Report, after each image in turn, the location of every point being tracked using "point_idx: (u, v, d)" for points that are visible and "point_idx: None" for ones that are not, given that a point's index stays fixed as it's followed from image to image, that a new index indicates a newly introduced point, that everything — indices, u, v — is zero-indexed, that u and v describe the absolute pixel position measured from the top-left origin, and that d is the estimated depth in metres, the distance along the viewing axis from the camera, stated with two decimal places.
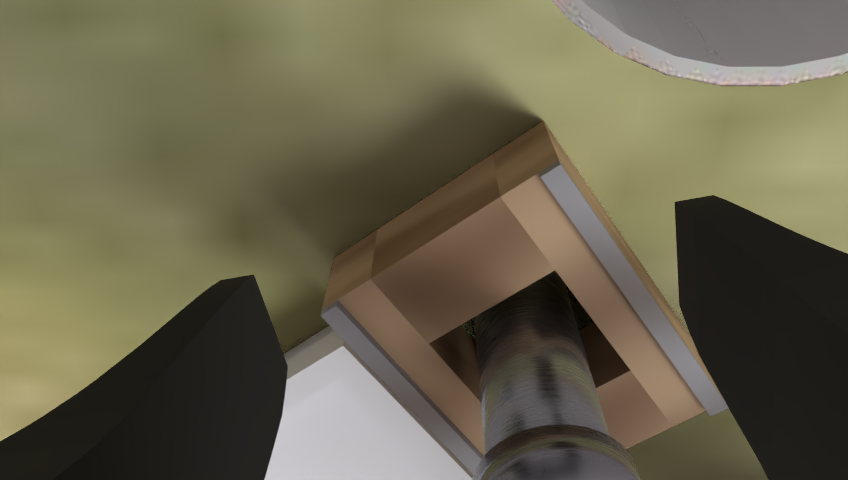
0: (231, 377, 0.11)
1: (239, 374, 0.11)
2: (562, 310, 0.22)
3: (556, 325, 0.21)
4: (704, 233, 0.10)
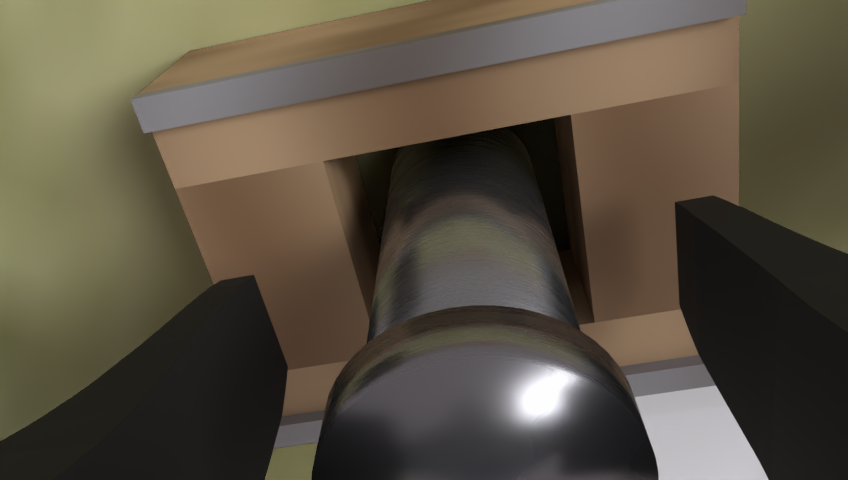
0: (231, 377, 0.11)
1: (239, 374, 0.11)
2: (424, 166, 0.14)
3: (406, 200, 0.13)
4: (704, 233, 0.10)
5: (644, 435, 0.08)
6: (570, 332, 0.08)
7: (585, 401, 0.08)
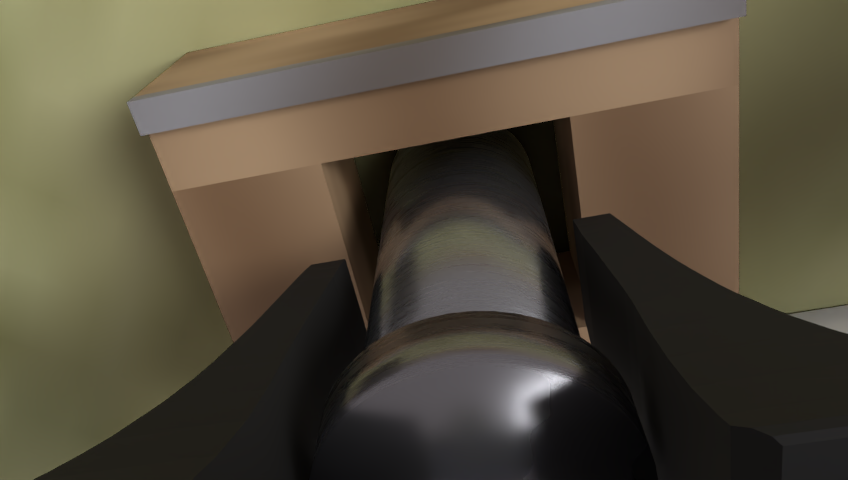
0: (334, 360, 0.11)
1: (340, 358, 0.11)
2: (422, 168, 0.13)
3: (405, 203, 0.13)
4: (589, 252, 0.10)
5: (644, 442, 0.08)
6: (569, 338, 0.08)
7: (585, 409, 0.08)
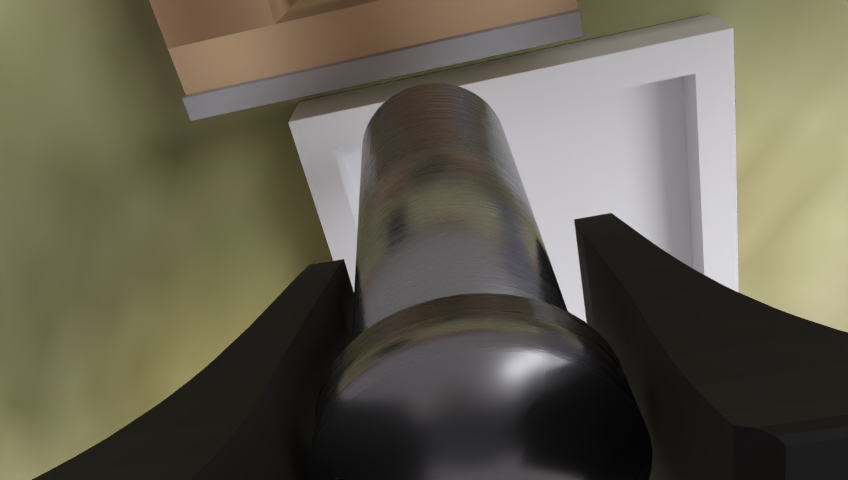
0: (332, 361, 0.11)
1: None
2: (397, 142, 0.13)
3: (381, 179, 0.12)
4: (590, 252, 0.10)
5: (637, 413, 0.08)
6: (560, 315, 0.08)
7: (579, 386, 0.08)
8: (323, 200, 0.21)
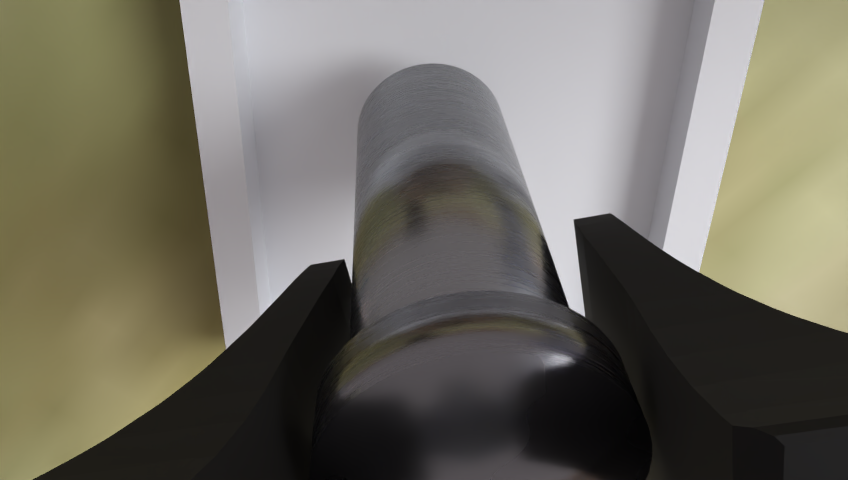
0: None
1: None
2: (393, 127, 0.13)
3: (378, 166, 0.12)
4: (590, 252, 0.10)
5: (638, 410, 0.08)
6: (560, 311, 0.08)
7: (580, 384, 0.08)
8: (194, 10, 0.15)
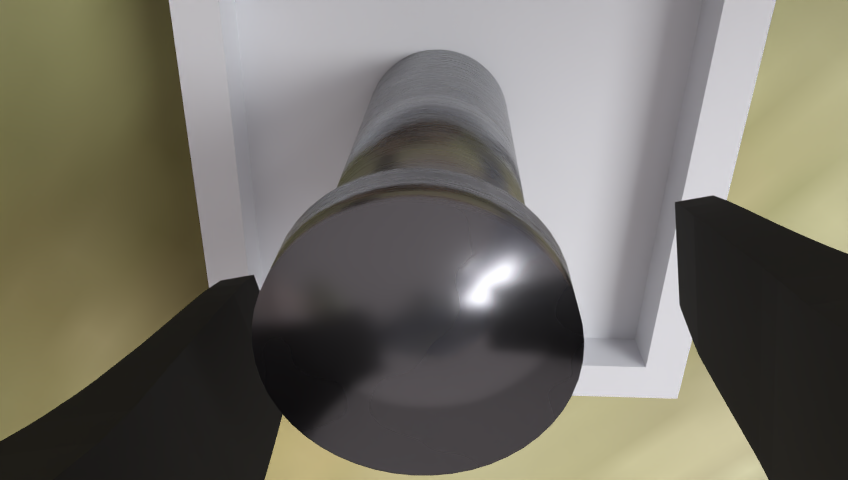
0: (231, 377, 0.11)
1: (239, 374, 0.11)
2: (390, 90, 0.14)
3: (370, 118, 0.13)
4: (704, 233, 0.10)
5: (564, 282, 0.08)
6: (496, 191, 0.09)
7: (504, 246, 0.08)
8: (185, 17, 0.15)
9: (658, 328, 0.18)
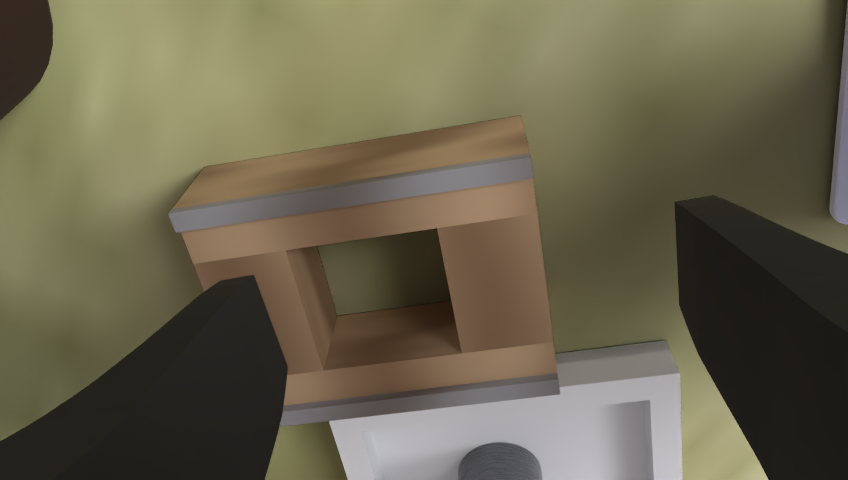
0: (231, 377, 0.11)
1: (239, 374, 0.11)
2: None
3: None
4: (704, 233, 0.10)
5: None
6: None
7: None
8: (351, 465, 0.26)
9: None
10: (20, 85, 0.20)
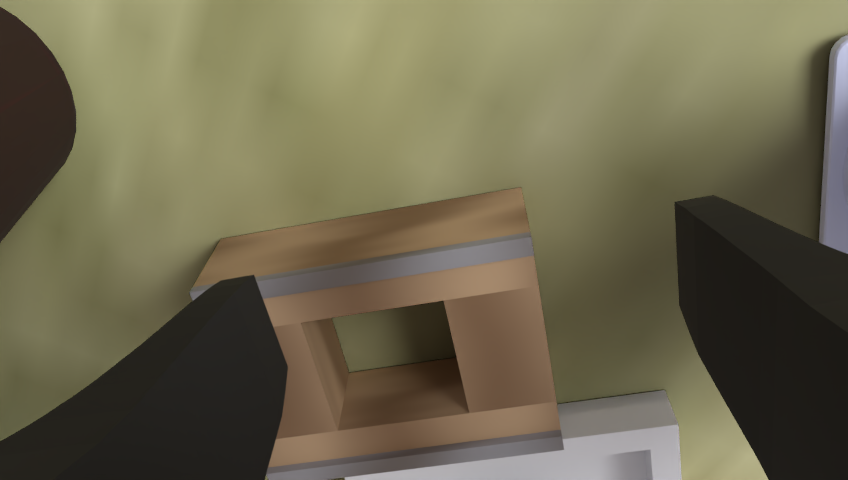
0: (231, 377, 0.11)
1: (239, 374, 0.11)
2: None
3: None
4: (704, 233, 0.10)
5: None
6: None
7: None
8: None
9: None
10: (48, 175, 0.21)
